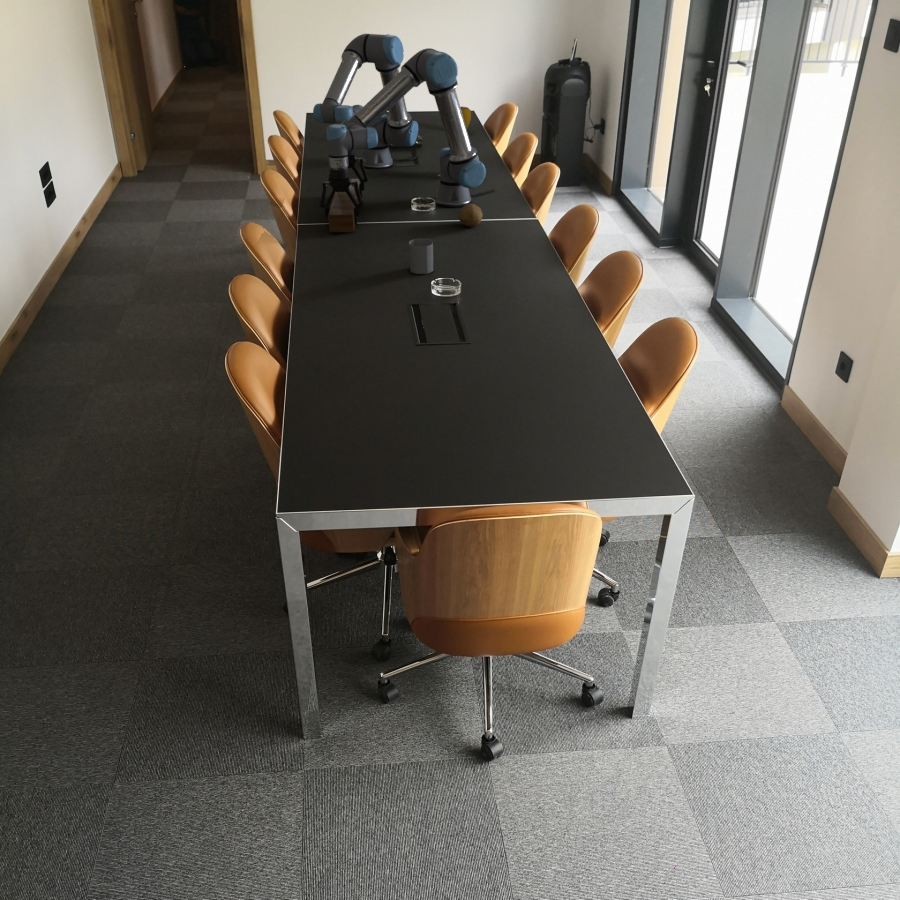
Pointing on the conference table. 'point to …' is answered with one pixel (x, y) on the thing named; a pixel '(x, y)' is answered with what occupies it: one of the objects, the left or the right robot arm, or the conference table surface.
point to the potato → (470, 215)
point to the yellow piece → (466, 115)
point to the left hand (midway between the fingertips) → (349, 198)
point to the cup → (421, 256)
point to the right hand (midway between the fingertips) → (343, 224)
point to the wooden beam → (343, 211)
